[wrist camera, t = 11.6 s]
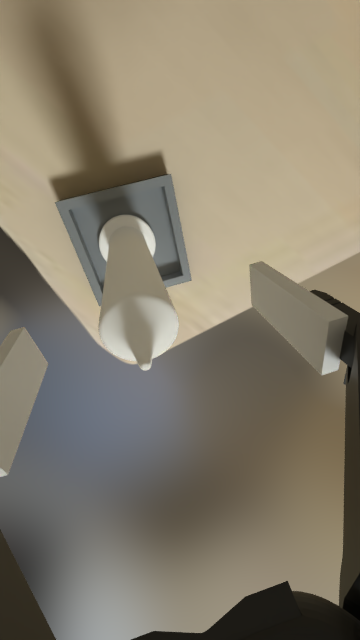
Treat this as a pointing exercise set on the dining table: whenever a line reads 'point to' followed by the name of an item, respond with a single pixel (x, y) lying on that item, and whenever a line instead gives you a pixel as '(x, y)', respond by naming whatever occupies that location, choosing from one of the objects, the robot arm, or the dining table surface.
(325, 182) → the dining table surface
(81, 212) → the tray
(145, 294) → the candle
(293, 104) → the dining table surface
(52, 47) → the dining table surface
